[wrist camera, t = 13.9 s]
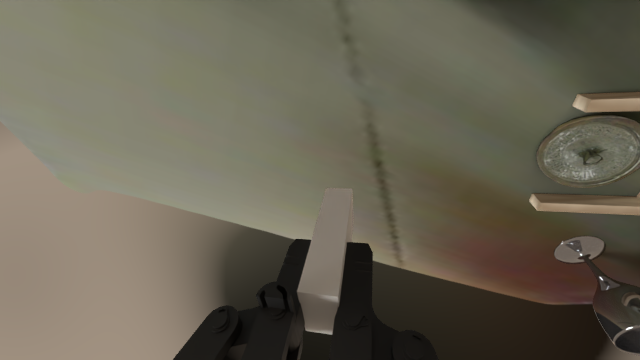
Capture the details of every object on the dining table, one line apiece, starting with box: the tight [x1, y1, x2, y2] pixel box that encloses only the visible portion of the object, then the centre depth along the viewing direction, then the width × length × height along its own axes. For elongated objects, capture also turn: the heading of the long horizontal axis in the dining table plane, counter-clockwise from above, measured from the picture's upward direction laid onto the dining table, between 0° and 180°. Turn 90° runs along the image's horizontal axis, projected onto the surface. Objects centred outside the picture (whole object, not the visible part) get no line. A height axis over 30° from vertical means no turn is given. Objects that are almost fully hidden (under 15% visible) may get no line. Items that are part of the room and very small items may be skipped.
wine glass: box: [554, 236, 640, 356], centre depth 39 cm, size 8×8×15 cm
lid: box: [536, 115, 640, 188], centre depth 33 cm, size 11×10×5 cm
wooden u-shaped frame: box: [529, 92, 640, 215], centre depth 34 cm, size 17×15×2 cm
